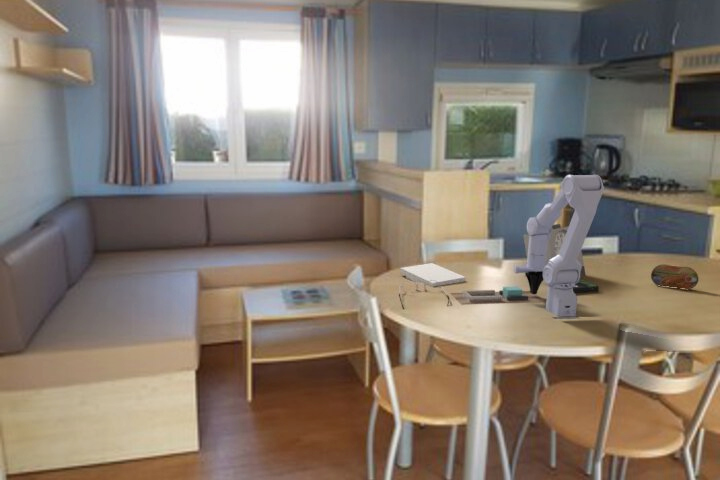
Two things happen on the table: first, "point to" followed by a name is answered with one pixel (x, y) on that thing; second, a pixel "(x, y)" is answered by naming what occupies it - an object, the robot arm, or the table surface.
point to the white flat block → (431, 274)
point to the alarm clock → (555, 245)
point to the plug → (512, 291)
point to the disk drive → (585, 287)
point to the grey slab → (472, 298)
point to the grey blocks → (514, 297)
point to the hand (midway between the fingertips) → (533, 293)
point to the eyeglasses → (424, 289)
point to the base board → (531, 298)
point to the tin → (674, 276)
